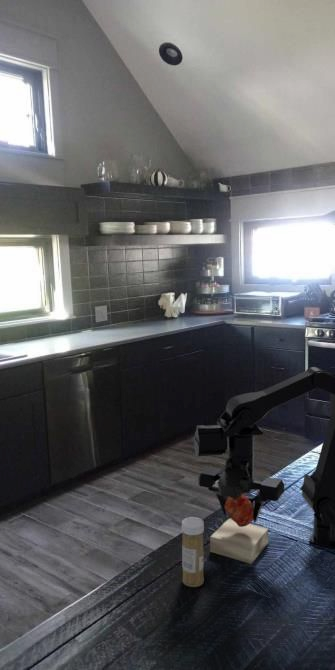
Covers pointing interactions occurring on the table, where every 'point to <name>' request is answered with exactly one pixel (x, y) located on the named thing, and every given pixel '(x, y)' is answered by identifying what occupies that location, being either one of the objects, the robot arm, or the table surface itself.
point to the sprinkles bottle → (192, 551)
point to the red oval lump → (240, 510)
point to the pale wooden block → (239, 541)
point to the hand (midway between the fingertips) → (240, 518)
